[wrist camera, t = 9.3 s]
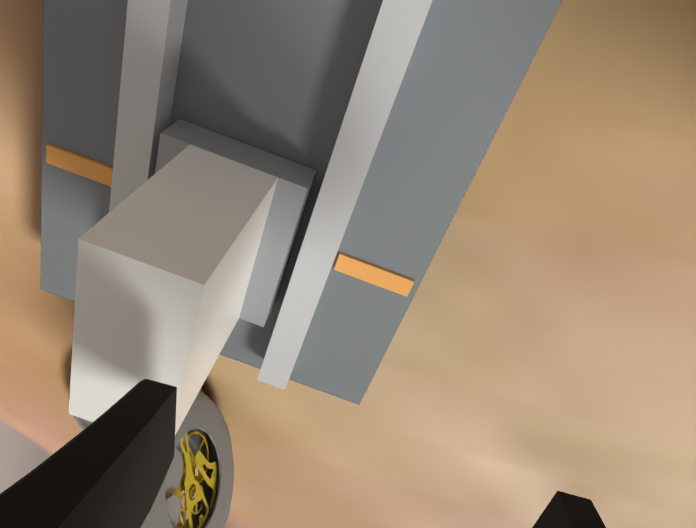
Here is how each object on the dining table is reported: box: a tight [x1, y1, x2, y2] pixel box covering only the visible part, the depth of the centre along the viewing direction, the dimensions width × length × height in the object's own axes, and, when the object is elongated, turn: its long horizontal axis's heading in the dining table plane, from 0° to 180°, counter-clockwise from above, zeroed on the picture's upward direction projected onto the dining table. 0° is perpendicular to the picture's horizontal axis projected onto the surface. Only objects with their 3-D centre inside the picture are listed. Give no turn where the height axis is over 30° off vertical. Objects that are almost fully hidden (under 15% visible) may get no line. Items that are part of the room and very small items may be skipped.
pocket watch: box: [69, 388, 234, 528], centre depth 20 cm, size 8×8×10 cm
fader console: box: [41, 0, 562, 405], centre depth 14 cm, size 12×23×3 cm, turn 162°
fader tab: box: [69, 119, 317, 435], centre depth 14 cm, size 4×5×6 cm
